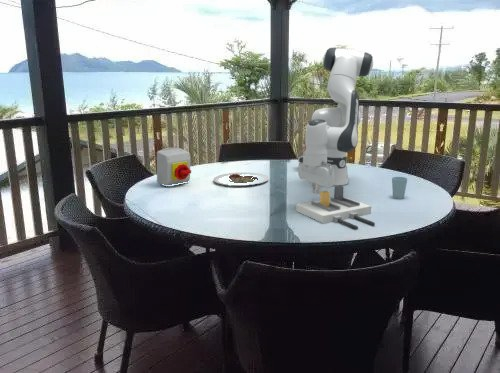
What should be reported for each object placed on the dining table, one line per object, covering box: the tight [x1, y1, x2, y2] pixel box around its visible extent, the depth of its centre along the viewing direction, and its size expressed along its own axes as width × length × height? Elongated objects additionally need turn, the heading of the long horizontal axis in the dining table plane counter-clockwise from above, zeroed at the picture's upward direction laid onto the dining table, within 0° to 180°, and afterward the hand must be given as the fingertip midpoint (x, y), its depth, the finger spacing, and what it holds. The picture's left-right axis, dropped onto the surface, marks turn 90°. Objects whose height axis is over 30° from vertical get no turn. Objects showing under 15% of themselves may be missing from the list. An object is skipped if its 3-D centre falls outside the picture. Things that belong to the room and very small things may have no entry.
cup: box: [391, 176, 408, 200], centre depth 190 cm, size 7×7×9 cm
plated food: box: [213, 172, 270, 187], centre depth 228 cm, size 30×30×3 cm
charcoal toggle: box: [333, 185, 344, 201], centre depth 176 cm, size 2×3×6 cm, turn 118°
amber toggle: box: [319, 190, 331, 207], centre depth 169 cm, size 2×3×6 cm, turn 118°
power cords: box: [332, 212, 376, 230], centre depth 158 cm, size 12×10×2 cm
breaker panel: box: [295, 196, 372, 224], centre depth 171 cm, size 18×24×4 cm
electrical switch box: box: [156, 147, 192, 185], centre depth 221 cm, size 14×15×20 cm
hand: (315, 193), depth 174 cm, fingers closed
